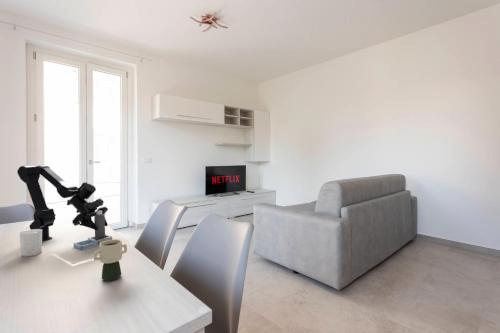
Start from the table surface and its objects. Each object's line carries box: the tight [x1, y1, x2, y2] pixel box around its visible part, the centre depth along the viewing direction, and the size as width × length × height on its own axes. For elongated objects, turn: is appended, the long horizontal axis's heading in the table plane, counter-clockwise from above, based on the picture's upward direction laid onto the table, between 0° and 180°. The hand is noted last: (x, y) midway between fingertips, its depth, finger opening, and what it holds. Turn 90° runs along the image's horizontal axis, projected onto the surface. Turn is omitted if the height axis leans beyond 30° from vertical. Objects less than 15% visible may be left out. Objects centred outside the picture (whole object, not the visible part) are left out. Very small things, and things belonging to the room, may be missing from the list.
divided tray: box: [73, 233, 113, 251], centre depth 129 cm, size 11×16×2 cm
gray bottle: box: [93, 210, 106, 240], centre depth 132 cm, size 4×4×15 cm
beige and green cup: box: [93, 239, 128, 281], centre depth 93 cm, size 11×7×13 cm, turn 135°
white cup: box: [18, 229, 43, 257], centre depth 117 cm, size 8×8×10 cm
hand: (102, 227), depth 132 cm, fingers open, 7 cm apart
